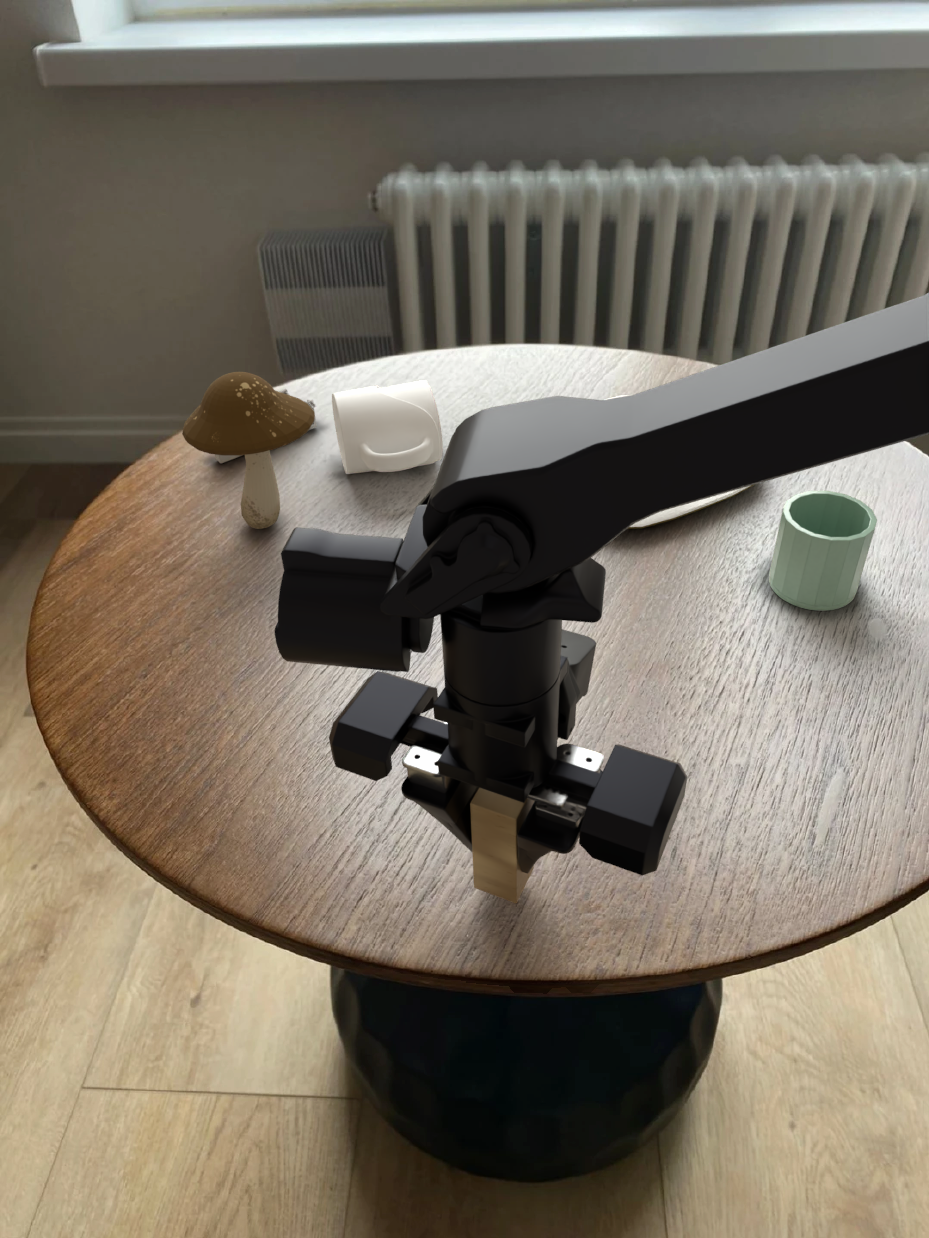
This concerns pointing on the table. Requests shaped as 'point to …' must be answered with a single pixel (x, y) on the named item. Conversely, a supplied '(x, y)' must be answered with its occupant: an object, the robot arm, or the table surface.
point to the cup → (821, 549)
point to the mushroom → (249, 435)
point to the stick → (497, 844)
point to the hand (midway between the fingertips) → (504, 857)
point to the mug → (387, 427)
